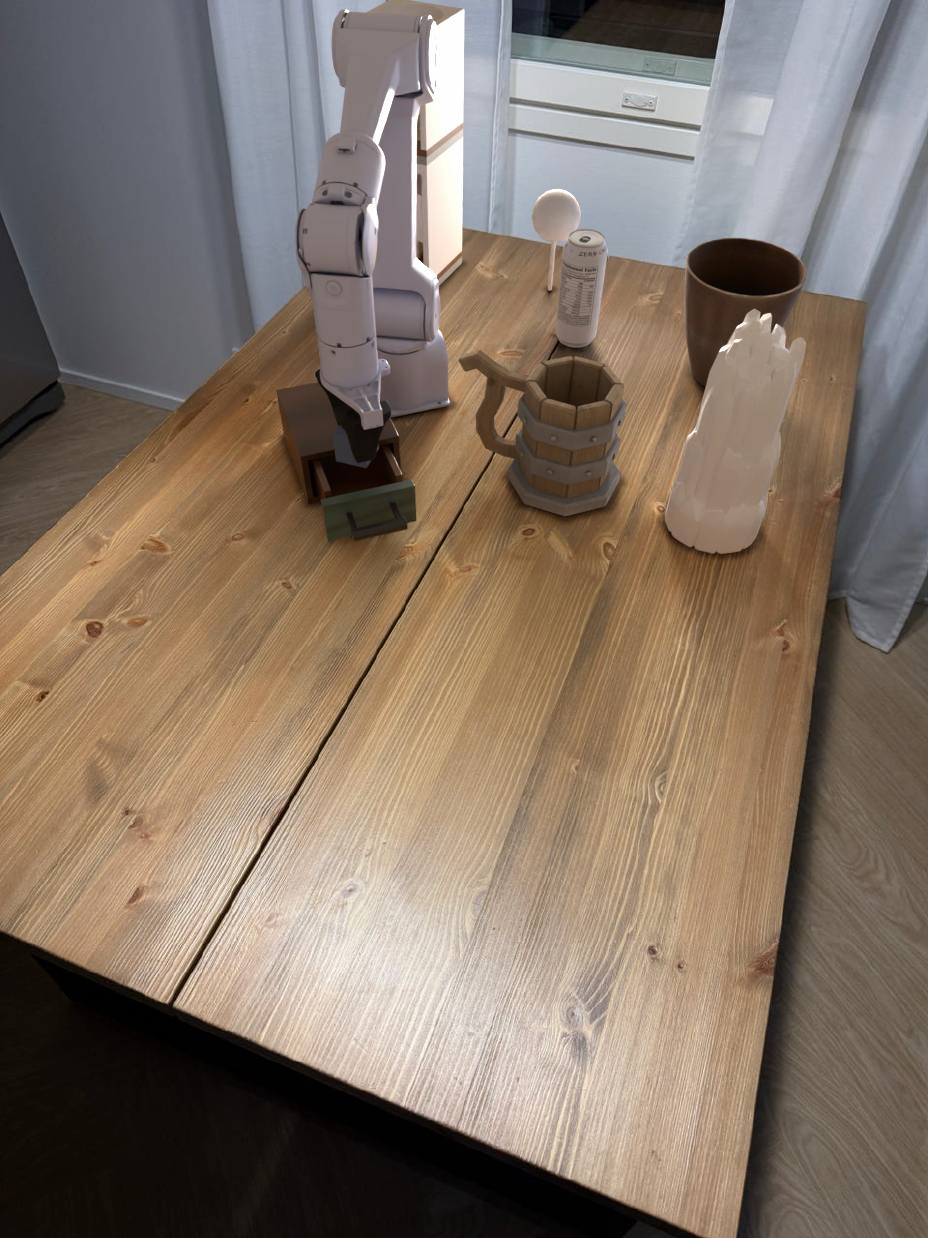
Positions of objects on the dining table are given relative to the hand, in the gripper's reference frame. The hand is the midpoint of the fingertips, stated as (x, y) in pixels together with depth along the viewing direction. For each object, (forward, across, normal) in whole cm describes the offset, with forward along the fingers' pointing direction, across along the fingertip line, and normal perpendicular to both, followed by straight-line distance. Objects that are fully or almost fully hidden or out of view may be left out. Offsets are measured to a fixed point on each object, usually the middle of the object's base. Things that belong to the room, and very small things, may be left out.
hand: (357, 444), depth 96 cm
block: (+1, 0, 0) cm, 1 cm away
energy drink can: (+11, +25, -40) cm, 49 cm away
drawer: (+9, +1, 0) cm, 10 cm away
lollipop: (+11, +39, -43) cm, 59 cm away
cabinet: (+10, +11, 0) cm, 15 cm away
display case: (+11, +52, -25) cm, 59 cm away
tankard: (+11, 0, -22) cm, 24 cm away
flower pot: (+11, +10, -54) cm, 56 cm away
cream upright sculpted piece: (+11, -16, -37) cm, 42 cm away
